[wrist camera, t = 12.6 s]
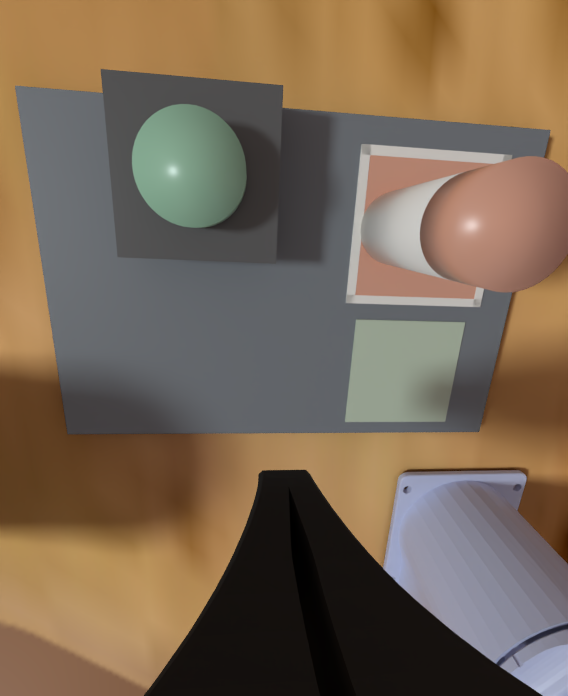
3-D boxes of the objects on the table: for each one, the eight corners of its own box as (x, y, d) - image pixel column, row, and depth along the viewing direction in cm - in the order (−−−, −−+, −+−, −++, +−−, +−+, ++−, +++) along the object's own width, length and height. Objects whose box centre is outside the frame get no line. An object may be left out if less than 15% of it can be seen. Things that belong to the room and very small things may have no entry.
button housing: (272, 259, 17) (276, 263, 14) (136, 253, 16) (117, 257, 14) (278, 107, 15) (283, 85, 13) (124, 94, 14) (101, 69, 12)
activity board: (470, 424, 21) (480, 433, 20) (74, 426, 19) (66, 435, 18) (536, 134, 17) (552, 129, 16) (27, 93, 15) (13, 84, 14)
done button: (245, 230, 14) (245, 230, 12) (147, 225, 13) (136, 224, 12) (247, 121, 13) (247, 108, 11) (140, 112, 12) (127, 99, 11)
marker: (422, 266, 17) (558, 295, 10) (356, 262, 17) (445, 289, 9) (434, 193, 16) (597, 161, 9) (365, 187, 16) (471, 150, 8)
